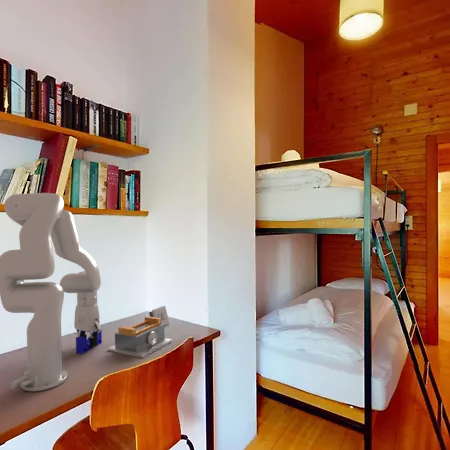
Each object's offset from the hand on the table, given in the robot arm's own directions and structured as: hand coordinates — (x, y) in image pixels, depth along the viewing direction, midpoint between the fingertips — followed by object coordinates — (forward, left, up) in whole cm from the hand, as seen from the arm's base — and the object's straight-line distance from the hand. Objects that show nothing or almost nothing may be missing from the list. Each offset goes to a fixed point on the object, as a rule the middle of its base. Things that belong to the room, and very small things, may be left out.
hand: (88, 345), depth 128 cm
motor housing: (+10, -19, -1) cm, 21 cm away
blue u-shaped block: (0, 0, -1) cm, 1 cm away
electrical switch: (+34, -9, -1) cm, 35 cm away
